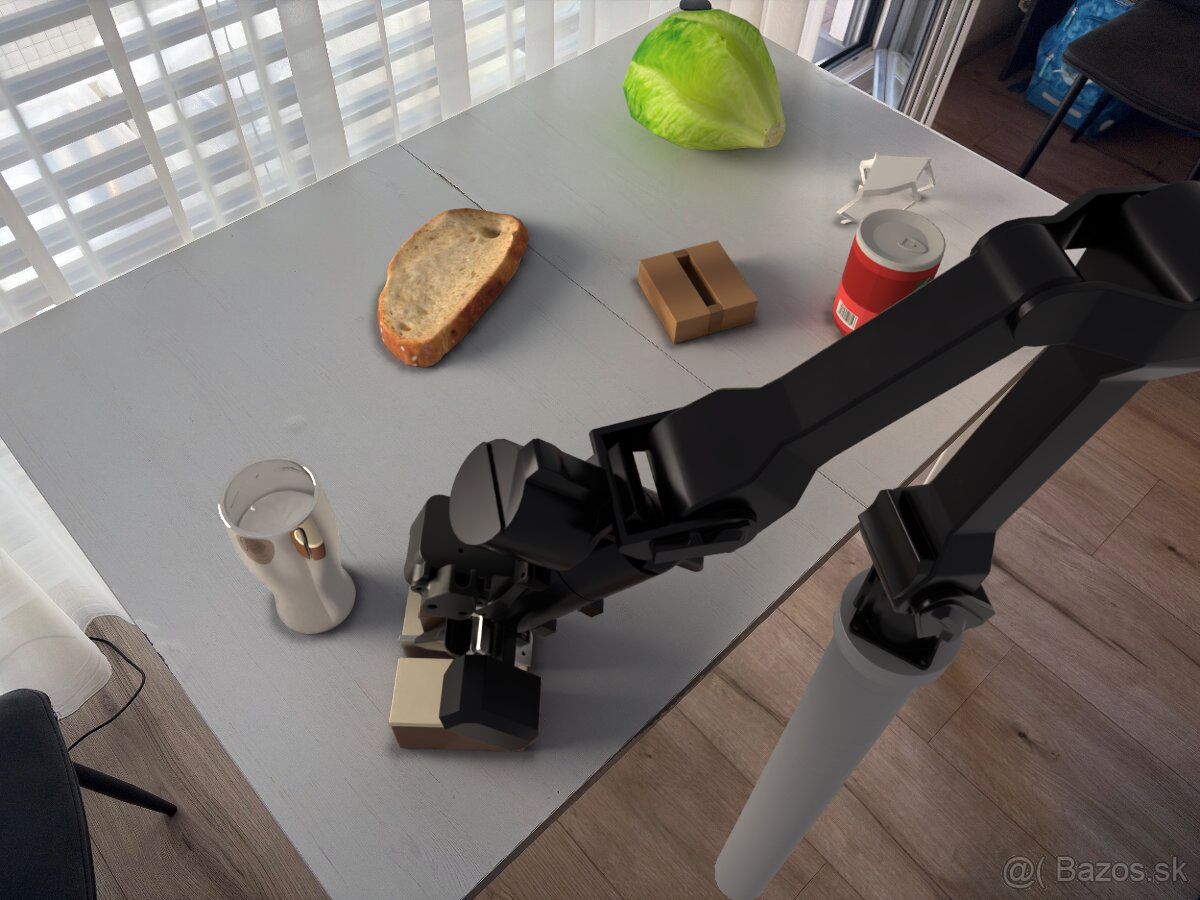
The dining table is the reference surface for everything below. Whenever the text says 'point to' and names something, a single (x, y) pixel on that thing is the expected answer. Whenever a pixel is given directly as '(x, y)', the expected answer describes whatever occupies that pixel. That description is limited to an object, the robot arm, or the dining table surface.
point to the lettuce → (706, 83)
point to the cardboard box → (696, 291)
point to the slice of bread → (447, 281)
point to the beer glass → (289, 540)
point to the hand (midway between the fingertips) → (421, 630)
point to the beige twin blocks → (424, 697)
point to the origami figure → (891, 178)
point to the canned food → (886, 265)
